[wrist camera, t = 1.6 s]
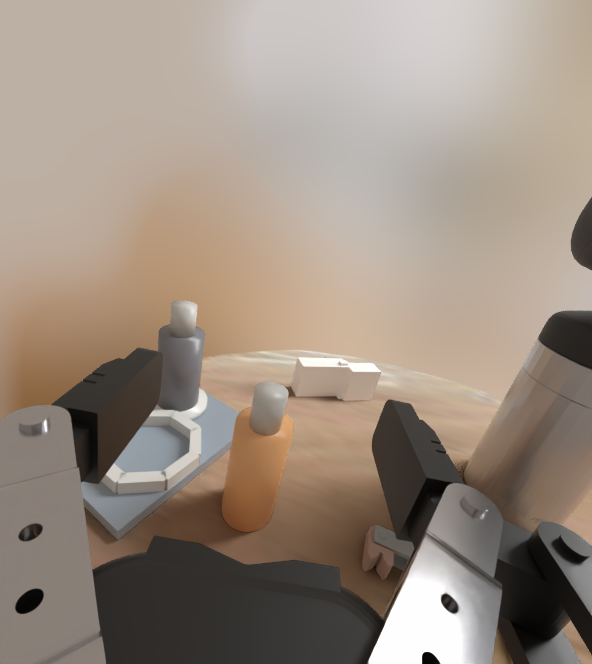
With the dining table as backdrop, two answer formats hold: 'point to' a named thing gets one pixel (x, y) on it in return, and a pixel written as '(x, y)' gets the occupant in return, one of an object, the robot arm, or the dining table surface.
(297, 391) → the white stepped block
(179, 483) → the bottle holder tray
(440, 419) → the dining table surface
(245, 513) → the orange lotion bottle
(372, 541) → the clamp
